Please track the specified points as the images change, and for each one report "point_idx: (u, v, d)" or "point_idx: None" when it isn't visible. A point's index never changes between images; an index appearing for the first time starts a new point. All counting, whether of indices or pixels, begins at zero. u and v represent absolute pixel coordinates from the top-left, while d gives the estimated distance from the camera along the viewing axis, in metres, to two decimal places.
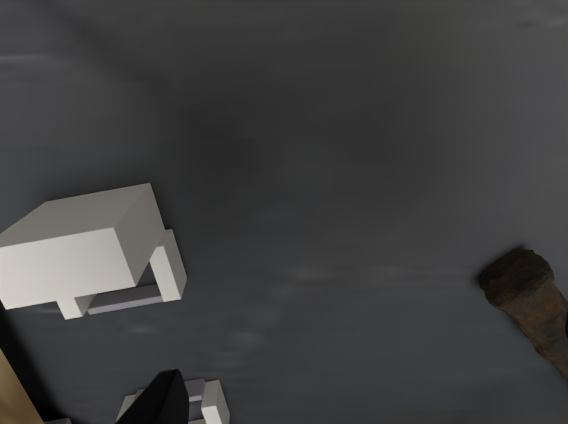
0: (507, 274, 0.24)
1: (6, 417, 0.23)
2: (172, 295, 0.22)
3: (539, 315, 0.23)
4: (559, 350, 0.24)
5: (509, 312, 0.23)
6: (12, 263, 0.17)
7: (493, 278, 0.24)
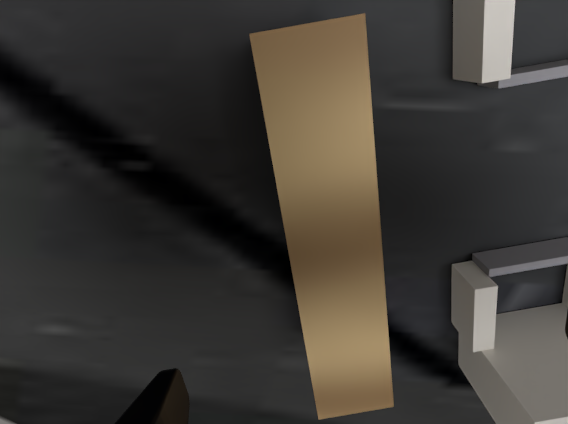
0: None
1: None
2: None
3: None
4: None
5: None
6: None
7: None
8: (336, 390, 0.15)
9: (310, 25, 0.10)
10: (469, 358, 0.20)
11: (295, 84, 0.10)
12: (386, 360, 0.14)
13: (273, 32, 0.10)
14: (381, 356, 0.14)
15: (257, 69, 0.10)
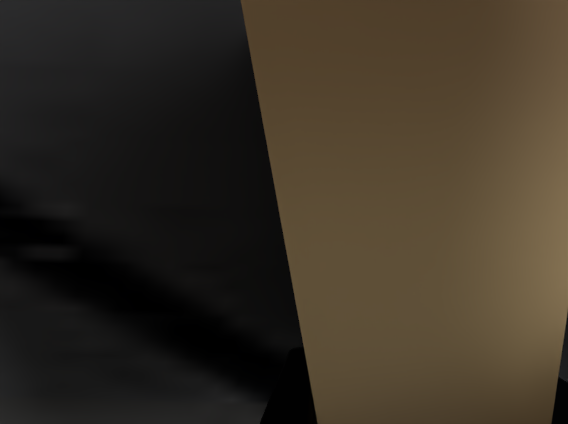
0: None
1: None
2: None
3: None
4: None
5: None
6: None
7: None
8: None
9: None
10: None
11: (376, 152, 0.04)
12: None
13: None
14: None
15: (266, 109, 0.03)
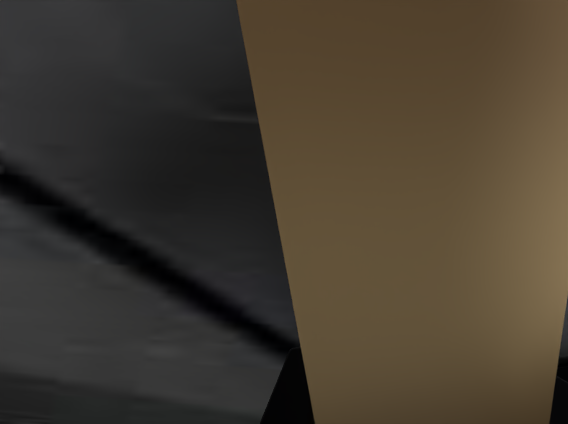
0: None
1: None
2: None
3: None
4: None
5: None
6: None
7: None
8: None
9: None
10: None
11: (374, 149, 0.04)
12: None
13: None
14: None
15: (261, 105, 0.03)
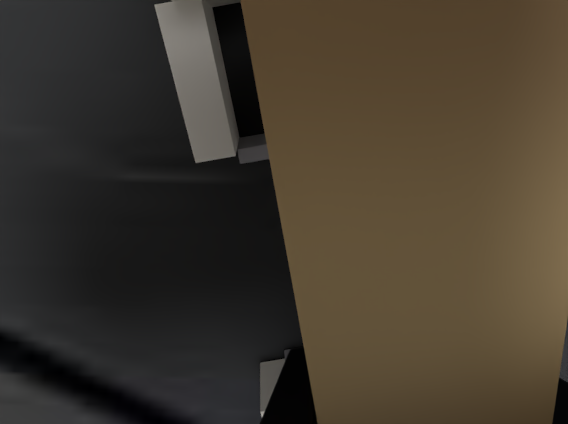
0: None
1: None
2: None
3: None
4: None
5: None
6: None
7: None
8: None
9: None
10: None
11: (376, 146, 0.04)
12: None
13: None
14: None
15: (264, 103, 0.03)
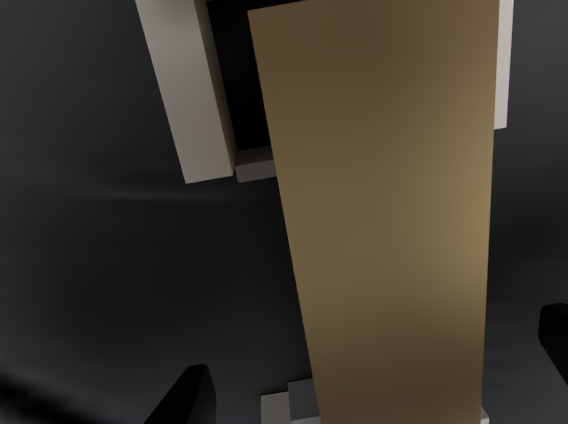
0: None
1: None
2: None
3: None
4: None
5: None
6: None
7: None
8: None
9: None
10: None
11: (342, 118, 0.05)
12: None
13: (300, 7, 0.05)
14: None
15: (264, 87, 0.05)
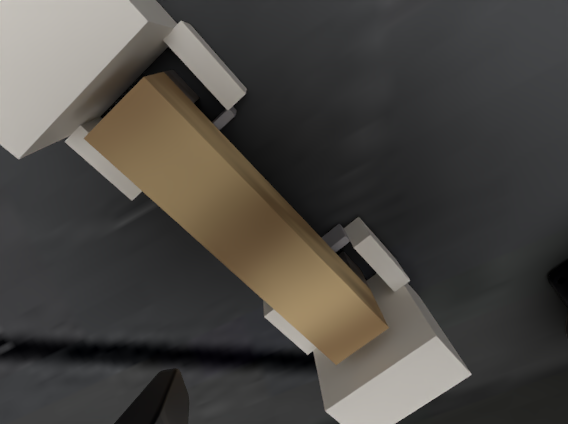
0: None
1: (291, 219, 0.16)
2: (232, 94, 0.16)
3: None
4: None
5: None
6: None
7: None
8: (332, 337, 0.17)
9: (115, 107, 0.13)
10: None
11: (136, 150, 0.13)
12: (354, 296, 0.16)
13: (97, 127, 0.13)
14: (347, 295, 0.16)
15: (105, 156, 0.13)
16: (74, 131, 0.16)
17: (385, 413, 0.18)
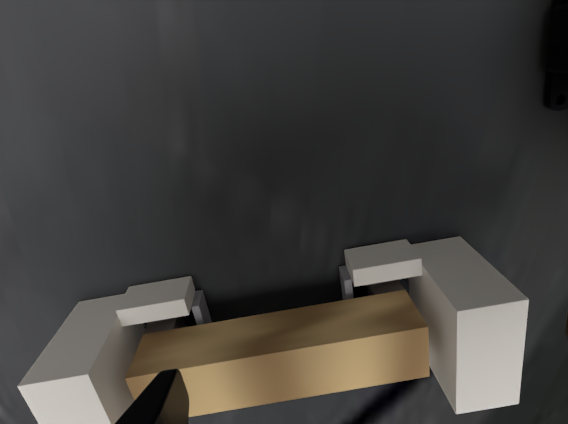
0: None
1: (285, 335, 0.19)
2: (179, 306, 0.20)
3: None
4: None
5: None
6: None
7: None
8: (400, 367, 0.18)
9: None
10: None
11: None
12: (376, 337, 0.18)
13: None
14: (371, 342, 0.18)
15: None
16: None
17: (503, 377, 0.18)
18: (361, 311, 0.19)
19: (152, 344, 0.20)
